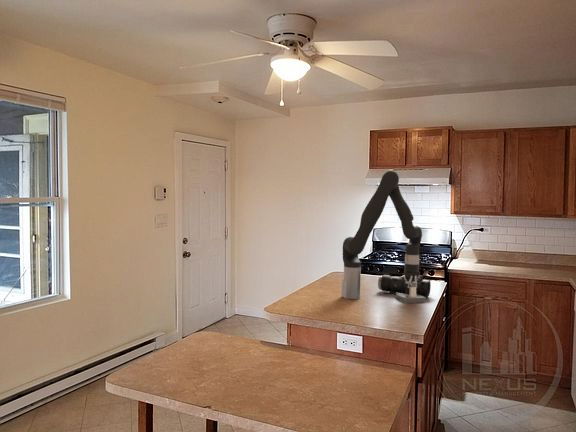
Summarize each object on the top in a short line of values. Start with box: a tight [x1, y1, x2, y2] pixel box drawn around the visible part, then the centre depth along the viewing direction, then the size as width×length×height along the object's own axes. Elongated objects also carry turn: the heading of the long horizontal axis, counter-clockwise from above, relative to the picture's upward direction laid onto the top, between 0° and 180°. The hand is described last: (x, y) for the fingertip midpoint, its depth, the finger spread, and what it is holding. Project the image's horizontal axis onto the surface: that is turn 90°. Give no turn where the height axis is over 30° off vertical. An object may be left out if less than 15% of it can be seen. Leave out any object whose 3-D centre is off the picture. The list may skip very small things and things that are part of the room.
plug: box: [407, 284, 416, 297], centre depth 234 cm, size 3×4×8 cm
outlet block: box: [395, 293, 427, 304], centre depth 234 cm, size 12×10×3 cm
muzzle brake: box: [377, 274, 432, 299], centre depth 248 cm, size 10×28×10 cm, turn 61°
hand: (410, 294), depth 234 cm, fingers closed on plug, 3 cm apart
